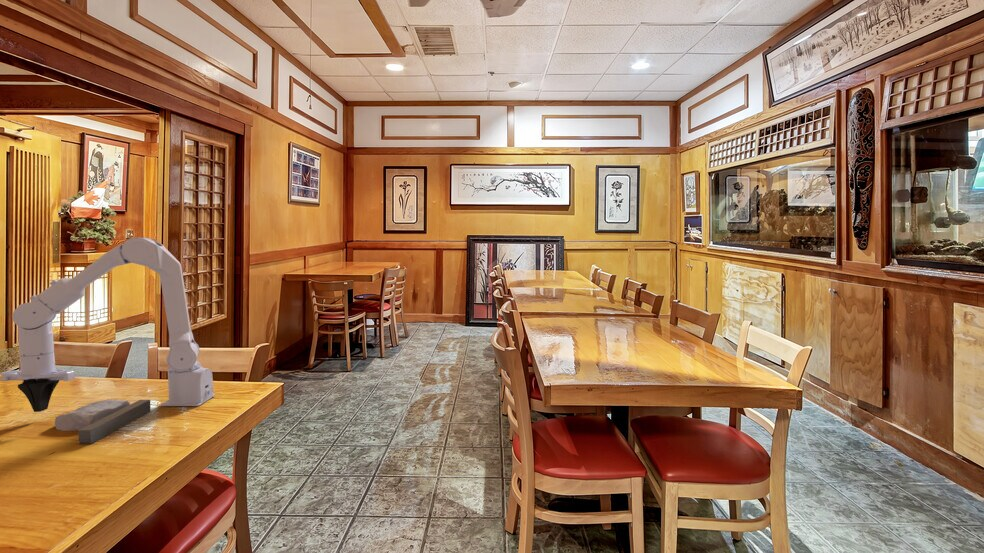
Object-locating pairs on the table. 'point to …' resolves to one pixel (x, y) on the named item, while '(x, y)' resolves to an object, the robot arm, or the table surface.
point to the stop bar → (113, 422)
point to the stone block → (88, 414)
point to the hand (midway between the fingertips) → (40, 410)
